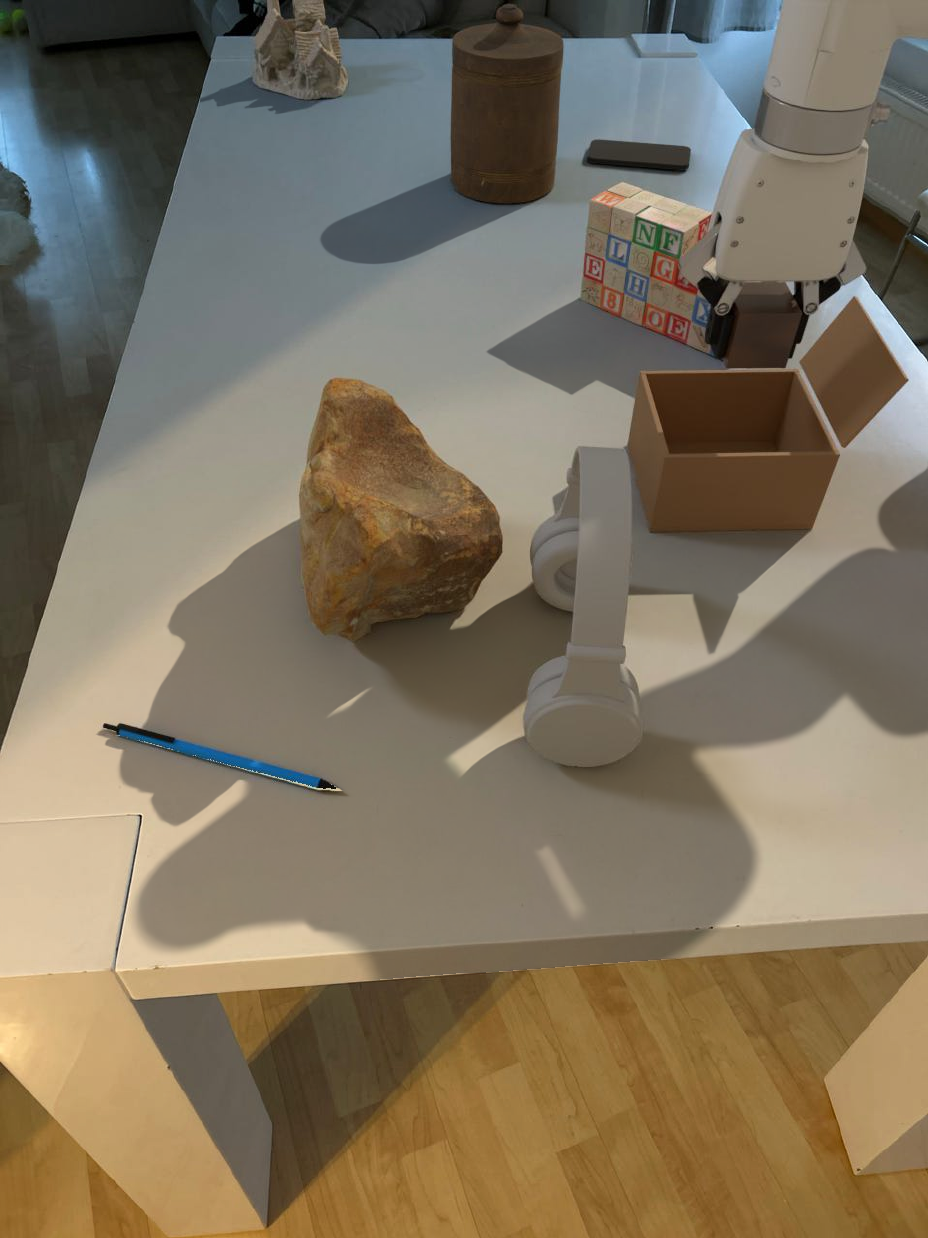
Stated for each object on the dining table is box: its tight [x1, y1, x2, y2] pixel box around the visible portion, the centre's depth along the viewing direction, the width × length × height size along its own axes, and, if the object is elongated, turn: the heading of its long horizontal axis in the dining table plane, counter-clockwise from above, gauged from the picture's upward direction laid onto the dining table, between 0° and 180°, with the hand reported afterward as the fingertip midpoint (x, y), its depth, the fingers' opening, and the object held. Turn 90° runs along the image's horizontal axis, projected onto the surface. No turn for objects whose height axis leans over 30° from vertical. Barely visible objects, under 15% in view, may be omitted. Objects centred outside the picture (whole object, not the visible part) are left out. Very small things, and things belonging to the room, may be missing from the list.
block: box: [722, 282, 802, 370], centre depth 78 cm, size 5×5×5 cm
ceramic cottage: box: [251, 0, 349, 101], centre depth 156 cm, size 16×16×15 cm
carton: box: [627, 368, 841, 533], centre depth 87 cm, size 15×13×8 cm
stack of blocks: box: [580, 181, 723, 361], centre depth 106 cm, size 21×6×12 cm, turn 48°
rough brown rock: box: [298, 377, 504, 643], centre depth 76 cm, size 23×17×15 cm
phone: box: [586, 138, 692, 171], centre depth 142 cm, size 7×1×15 cm
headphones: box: [522, 445, 645, 768], centre depth 68 cm, size 20×8×19 cm, turn 176°
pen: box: [102, 722, 336, 789], centre depth 69 cm, size 1×19×1 cm, turn 73°
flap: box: [798, 295, 910, 449], centre depth 82 cm, size 7×13×1 cm
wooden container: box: [450, 3, 565, 205], centre depth 128 cm, size 15×15×22 cm
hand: (749, 348), depth 80 cm, fingers closed on block, 5 cm apart
